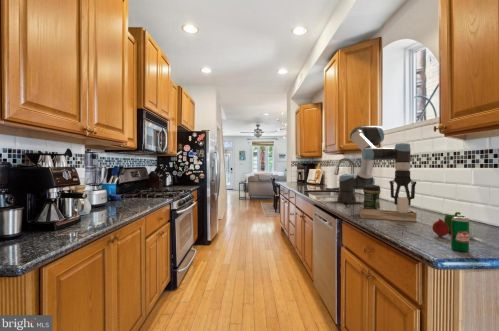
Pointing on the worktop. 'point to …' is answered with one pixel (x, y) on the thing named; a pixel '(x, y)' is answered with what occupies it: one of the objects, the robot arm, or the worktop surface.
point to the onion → (440, 228)
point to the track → (388, 214)
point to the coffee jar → (371, 197)
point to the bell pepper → (448, 219)
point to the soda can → (460, 234)
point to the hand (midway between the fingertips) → (402, 210)
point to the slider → (402, 204)
